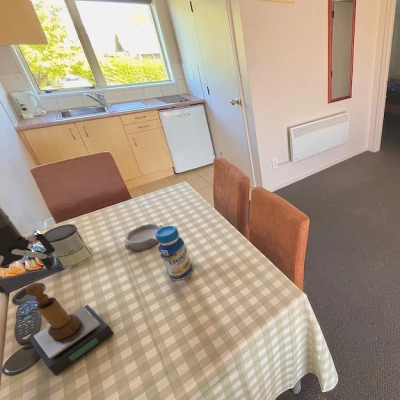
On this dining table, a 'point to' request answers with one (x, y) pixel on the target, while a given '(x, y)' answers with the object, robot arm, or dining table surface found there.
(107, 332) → the scale
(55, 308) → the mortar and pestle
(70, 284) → the dining table surface
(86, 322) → the scale pan
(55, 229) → the coffee can
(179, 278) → the beverage bottle
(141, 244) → the dish
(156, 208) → the dining table surface
